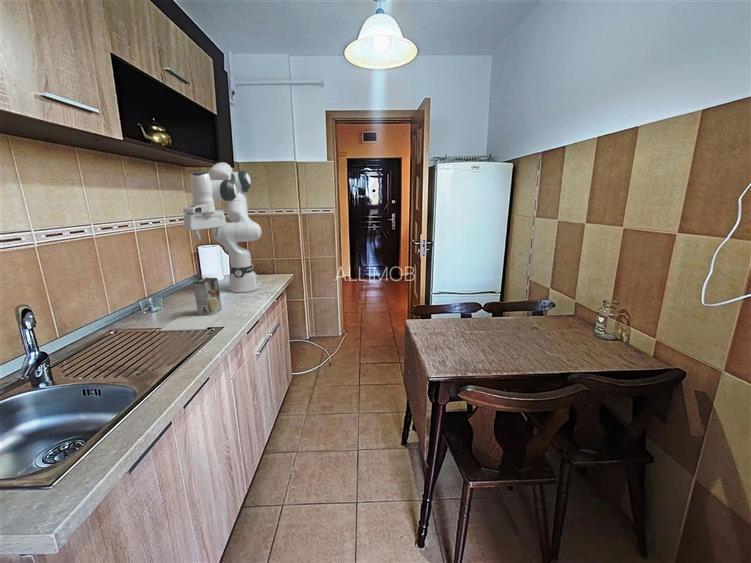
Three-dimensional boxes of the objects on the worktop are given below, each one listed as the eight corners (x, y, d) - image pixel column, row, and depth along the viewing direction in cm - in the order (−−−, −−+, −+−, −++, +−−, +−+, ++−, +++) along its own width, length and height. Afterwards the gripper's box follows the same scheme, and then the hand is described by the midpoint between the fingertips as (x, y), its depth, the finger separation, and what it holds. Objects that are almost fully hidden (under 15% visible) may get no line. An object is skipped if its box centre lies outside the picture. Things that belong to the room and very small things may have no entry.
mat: (180, 317, 153) (179, 316, 153) (220, 316, 154) (219, 315, 154) (159, 331, 138) (159, 330, 138) (204, 330, 138) (204, 329, 138)
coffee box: (210, 308, 164) (206, 277, 160) (222, 309, 163) (217, 277, 159) (197, 315, 156) (192, 282, 152) (209, 316, 154) (204, 282, 150)
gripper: (218, 207, 165) (221, 235, 169) (179, 209, 147) (184, 240, 151) (227, 207, 163) (230, 236, 166) (189, 209, 145) (194, 241, 148)
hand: (208, 238), depth 158 cm, fingers open, 8 cm apart
